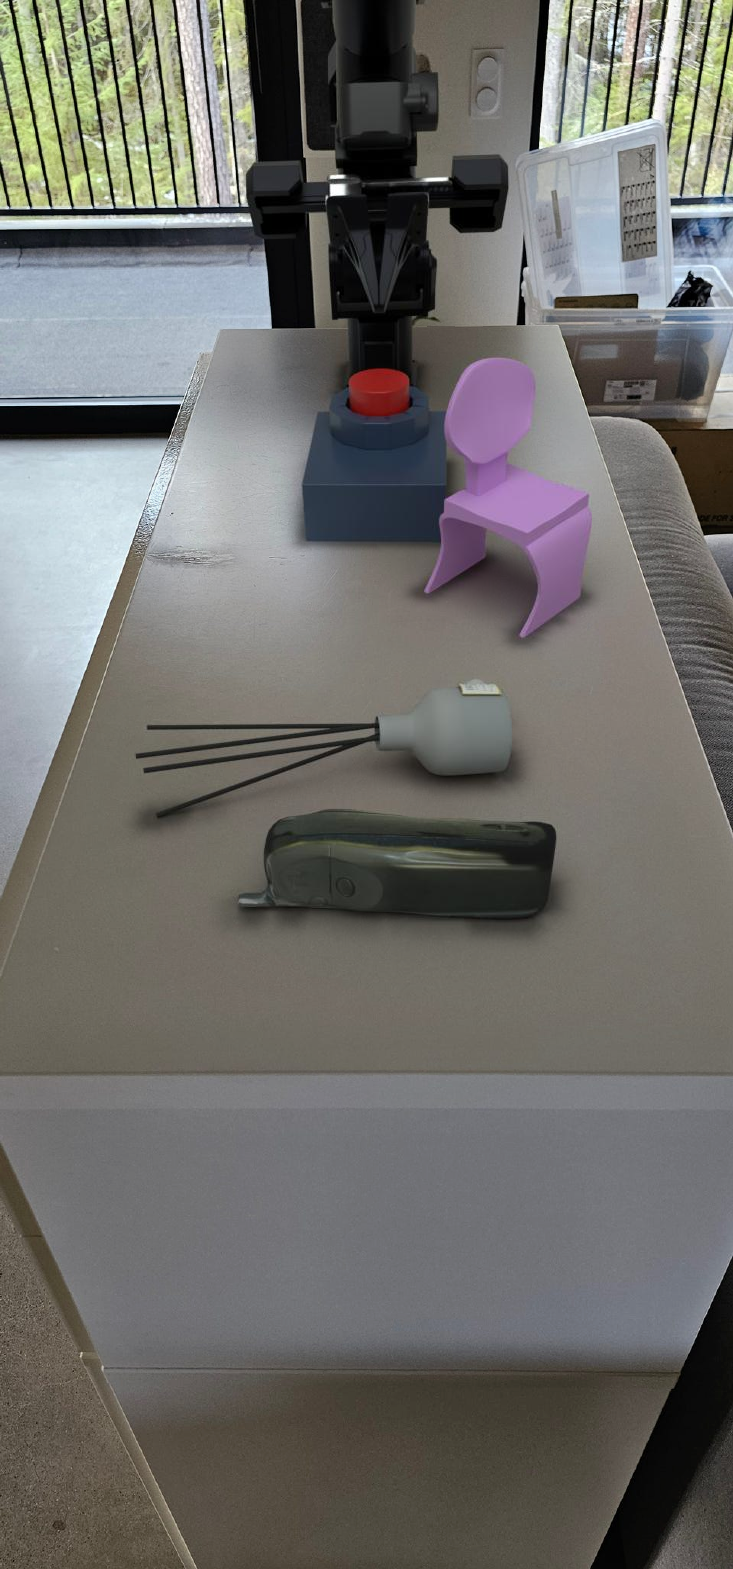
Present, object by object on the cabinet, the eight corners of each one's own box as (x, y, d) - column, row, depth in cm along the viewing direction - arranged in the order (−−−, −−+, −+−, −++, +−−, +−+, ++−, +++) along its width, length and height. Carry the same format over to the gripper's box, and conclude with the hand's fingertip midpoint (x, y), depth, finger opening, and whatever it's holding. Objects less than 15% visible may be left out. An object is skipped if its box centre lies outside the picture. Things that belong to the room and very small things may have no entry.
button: (352, 395, 83) (351, 368, 82) (410, 395, 83) (410, 368, 82) (347, 420, 80) (346, 392, 79) (408, 420, 80) (408, 392, 78)
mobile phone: (556, 807, 51) (235, 801, 52) (562, 854, 49) (227, 847, 49) (545, 880, 54) (243, 874, 55) (550, 927, 52) (236, 920, 53)
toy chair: (519, 649, 69) (538, 418, 59) (413, 599, 73) (413, 376, 63) (595, 593, 73) (624, 370, 63) (490, 549, 78) (502, 334, 68)
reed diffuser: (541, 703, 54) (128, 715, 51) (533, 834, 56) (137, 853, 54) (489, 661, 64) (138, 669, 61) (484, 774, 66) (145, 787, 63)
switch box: (321, 461, 89) (316, 382, 84) (445, 461, 88) (447, 381, 84) (306, 542, 79) (299, 457, 75) (444, 542, 79) (446, 457, 74)
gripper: (233, 27, 73) (235, 256, 72) (514, 17, 73) (520, 247, 72) (254, 134, 84) (257, 333, 83) (498, 126, 84) (503, 326, 83)
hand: (379, 310), depth 80 cm, fingers closed
